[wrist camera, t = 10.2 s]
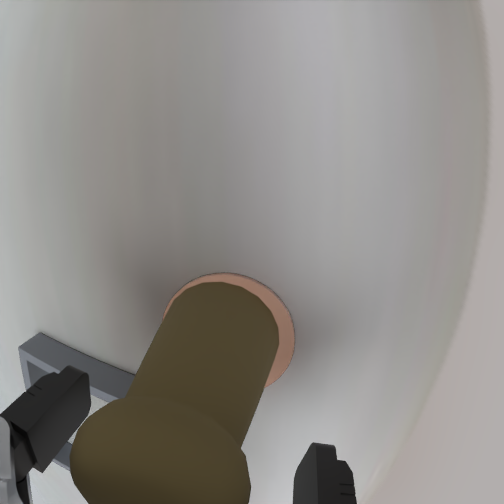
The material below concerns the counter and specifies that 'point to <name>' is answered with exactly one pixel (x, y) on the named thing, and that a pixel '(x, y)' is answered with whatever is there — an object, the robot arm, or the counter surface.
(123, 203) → the counter surface
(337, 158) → the counter surface
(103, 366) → the bin frame
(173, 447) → the cork
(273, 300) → the salmon pink disc
